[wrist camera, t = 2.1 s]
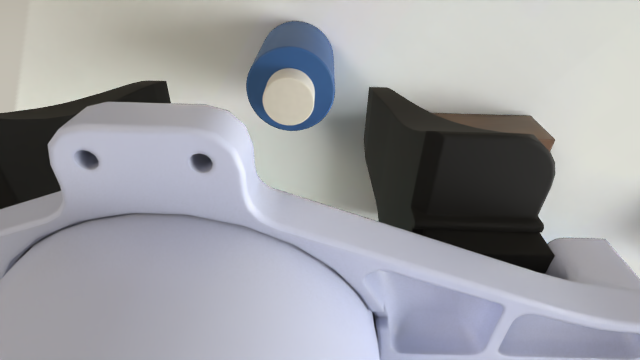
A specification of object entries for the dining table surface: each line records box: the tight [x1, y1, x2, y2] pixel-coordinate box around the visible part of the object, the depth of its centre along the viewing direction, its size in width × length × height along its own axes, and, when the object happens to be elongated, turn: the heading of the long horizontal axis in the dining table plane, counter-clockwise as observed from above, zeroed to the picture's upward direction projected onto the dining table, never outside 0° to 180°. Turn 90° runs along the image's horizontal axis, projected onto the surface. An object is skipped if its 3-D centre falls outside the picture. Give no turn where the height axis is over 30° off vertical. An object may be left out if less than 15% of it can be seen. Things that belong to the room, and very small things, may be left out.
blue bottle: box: [246, 21, 335, 131], centre depth 18 cm, size 4×4×6 cm
